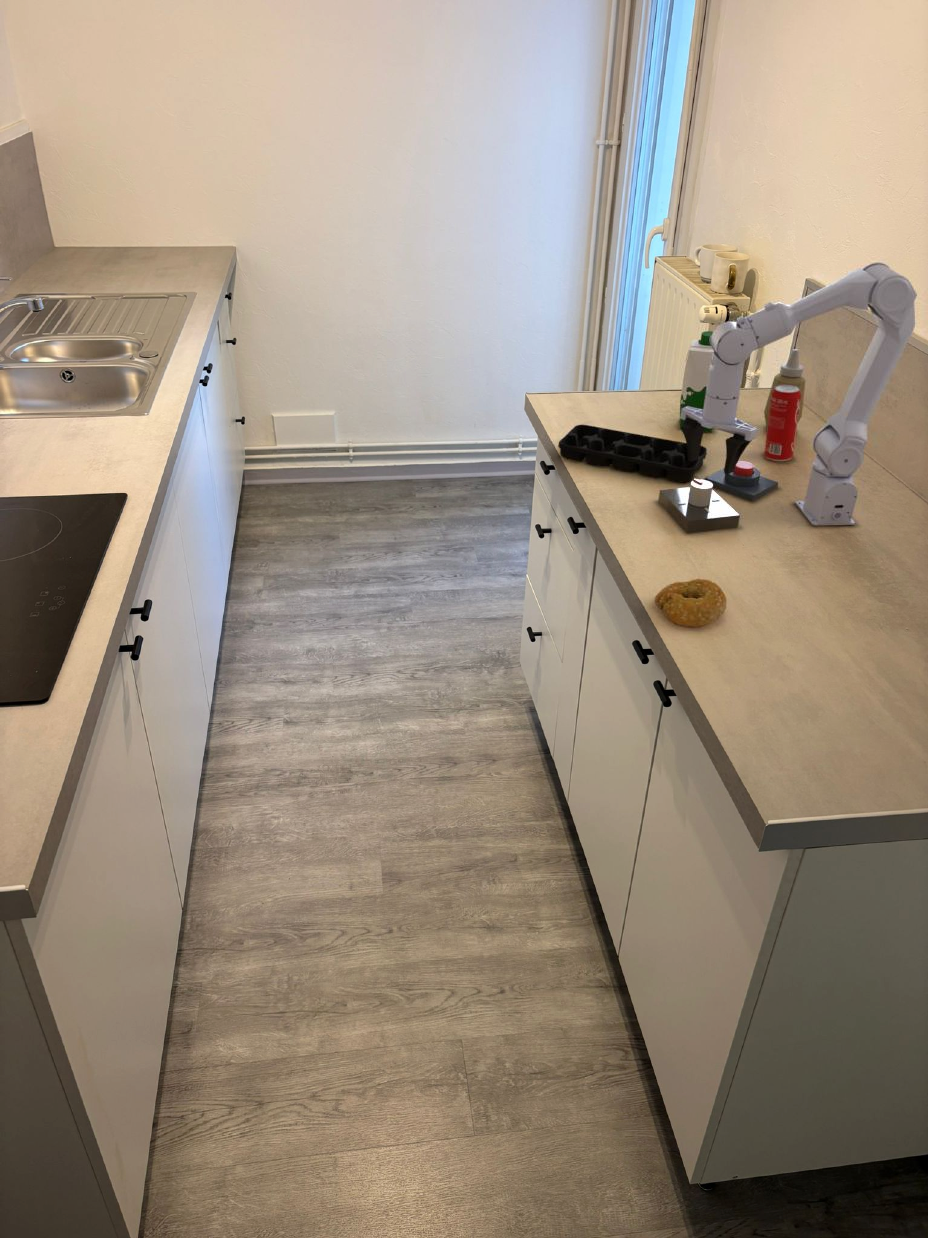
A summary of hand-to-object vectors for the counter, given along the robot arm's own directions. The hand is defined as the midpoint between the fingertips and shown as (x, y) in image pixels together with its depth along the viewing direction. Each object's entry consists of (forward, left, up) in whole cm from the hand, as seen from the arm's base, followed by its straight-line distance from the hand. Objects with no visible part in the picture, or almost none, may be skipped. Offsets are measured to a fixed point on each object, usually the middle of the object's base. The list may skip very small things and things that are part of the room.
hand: (710, 466), depth 175 cm
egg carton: (+23, +9, -9) cm, 26 cm away
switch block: (+10, -10, -9) cm, 17 cm away
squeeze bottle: (+39, -28, -9) cm, 49 cm away
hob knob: (-2, +2, -6) cm, 7 cm away
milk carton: (+42, -10, -9) cm, 45 cm away
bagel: (-35, +12, -9) cm, 38 cm away
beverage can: (+24, -22, -9) cm, 34 cm away
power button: (+10, -10, -6) cm, 16 cm away
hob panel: (-2, +2, -9) cm, 9 cm away
